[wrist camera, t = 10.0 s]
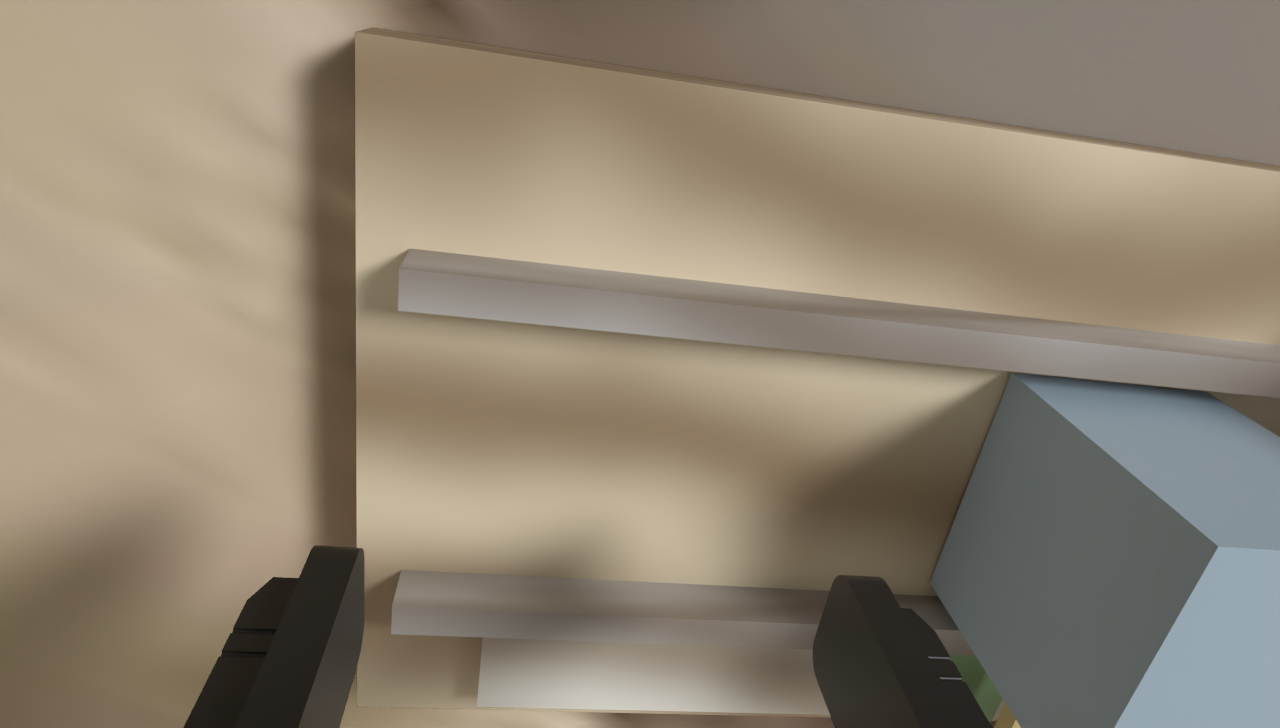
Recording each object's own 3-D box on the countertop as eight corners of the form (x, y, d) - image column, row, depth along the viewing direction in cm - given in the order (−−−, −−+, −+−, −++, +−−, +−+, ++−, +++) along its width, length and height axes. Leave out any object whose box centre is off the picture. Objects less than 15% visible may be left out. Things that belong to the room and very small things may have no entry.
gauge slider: (1011, 372, 17) (1218, 547, 12) (1263, 397, 18) (1557, 568, 13) (881, 706, 22) (990, 943, 16) (1090, 711, 23) (1257, 936, 17)
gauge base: (373, 27, 14) (119, 86, 6) (1506, 200, 19) (2315, 382, 10) (369, 661, 21) (246, 1113, 13) (1202, 687, 25) (1534, 1044, 17)
